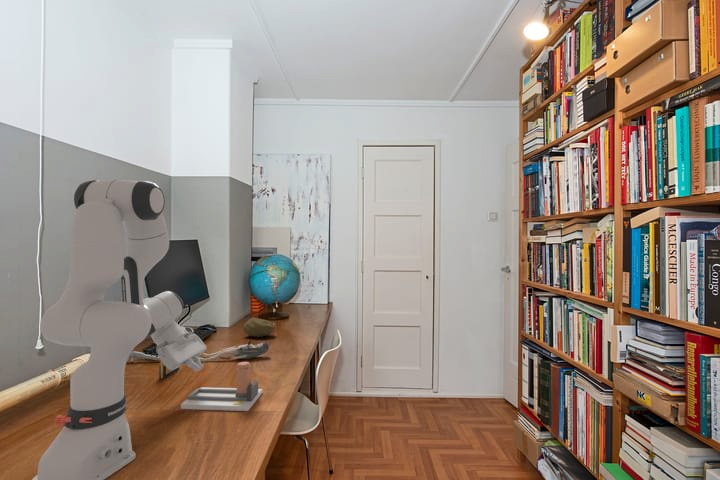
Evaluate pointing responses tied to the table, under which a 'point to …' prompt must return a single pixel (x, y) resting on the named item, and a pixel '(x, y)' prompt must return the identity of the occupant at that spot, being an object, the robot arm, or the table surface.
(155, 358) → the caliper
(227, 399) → the rail board
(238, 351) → the anime figure
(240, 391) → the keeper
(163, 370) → the ammunition clip
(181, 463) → the table surface
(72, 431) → the robot arm
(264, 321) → the decorative stone
